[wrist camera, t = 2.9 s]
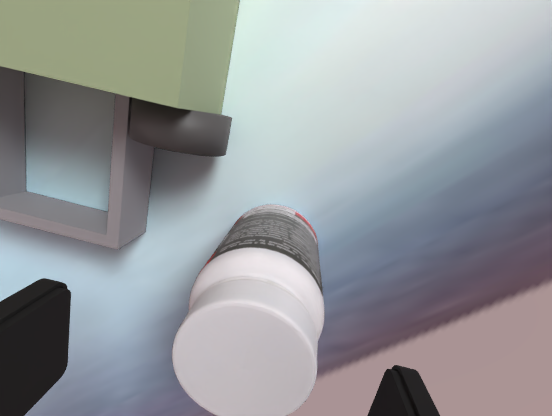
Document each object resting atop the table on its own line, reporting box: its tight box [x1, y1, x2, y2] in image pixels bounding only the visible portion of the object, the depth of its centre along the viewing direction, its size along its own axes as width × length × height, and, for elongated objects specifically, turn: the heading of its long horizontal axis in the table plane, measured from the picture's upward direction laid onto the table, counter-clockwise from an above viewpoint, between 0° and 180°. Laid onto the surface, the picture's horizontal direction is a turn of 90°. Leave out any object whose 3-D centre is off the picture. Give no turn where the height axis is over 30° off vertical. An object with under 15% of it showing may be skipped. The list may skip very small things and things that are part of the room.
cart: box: [0, 0, 240, 250], centre depth 11 cm, size 16×19×5 cm
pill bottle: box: [172, 204, 324, 416], centre depth 12 cm, size 5×5×8 cm
